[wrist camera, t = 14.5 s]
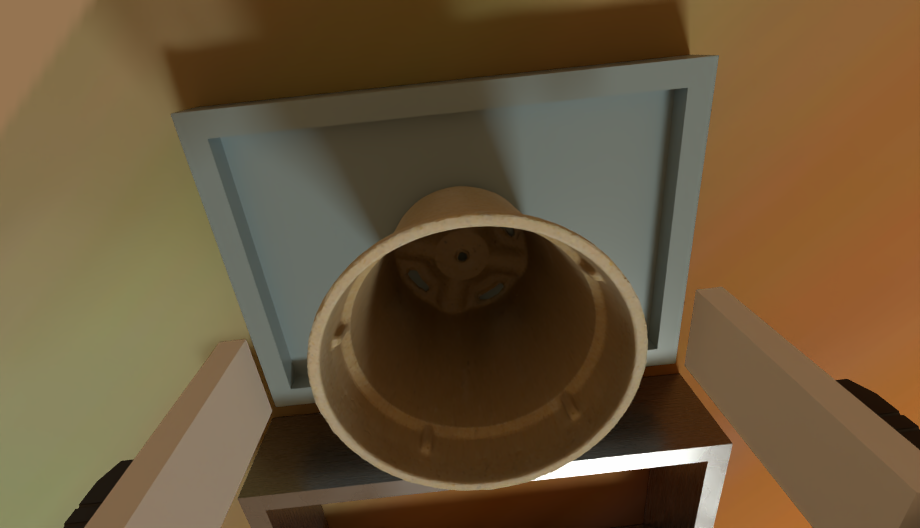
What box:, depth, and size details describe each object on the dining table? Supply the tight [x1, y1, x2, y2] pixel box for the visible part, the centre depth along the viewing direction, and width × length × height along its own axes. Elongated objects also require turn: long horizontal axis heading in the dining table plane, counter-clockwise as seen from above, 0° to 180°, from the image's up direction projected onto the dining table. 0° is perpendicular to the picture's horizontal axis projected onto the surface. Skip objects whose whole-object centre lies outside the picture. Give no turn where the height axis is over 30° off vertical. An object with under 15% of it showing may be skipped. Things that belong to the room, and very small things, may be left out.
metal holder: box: [238, 373, 732, 528], centre depth 26 cm, size 23×14×5 cm, turn 95°
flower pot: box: [307, 186, 648, 491], centre depth 16 cm, size 9×9×9 cm
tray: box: [171, 55, 719, 407], centre depth 20 cm, size 20×14×2 cm
